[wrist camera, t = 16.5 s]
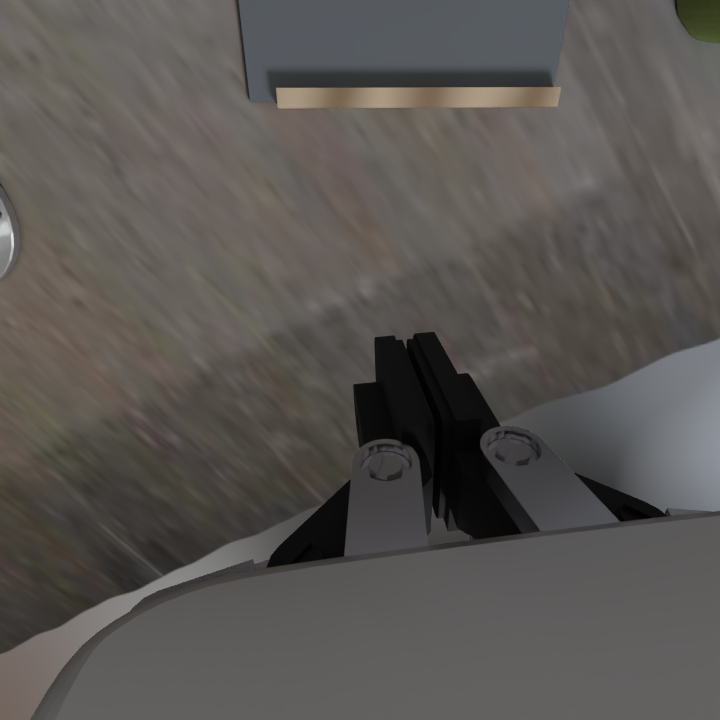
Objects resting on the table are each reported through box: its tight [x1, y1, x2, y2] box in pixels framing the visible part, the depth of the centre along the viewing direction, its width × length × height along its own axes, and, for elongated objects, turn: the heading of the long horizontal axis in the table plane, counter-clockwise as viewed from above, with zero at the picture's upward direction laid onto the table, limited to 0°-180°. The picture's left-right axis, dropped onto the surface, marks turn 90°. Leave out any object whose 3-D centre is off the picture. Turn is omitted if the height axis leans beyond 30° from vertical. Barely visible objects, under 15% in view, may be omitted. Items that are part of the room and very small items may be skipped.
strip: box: [276, 87, 561, 108], centre depth 31 cm, size 20×1×2 cm, turn 90°
